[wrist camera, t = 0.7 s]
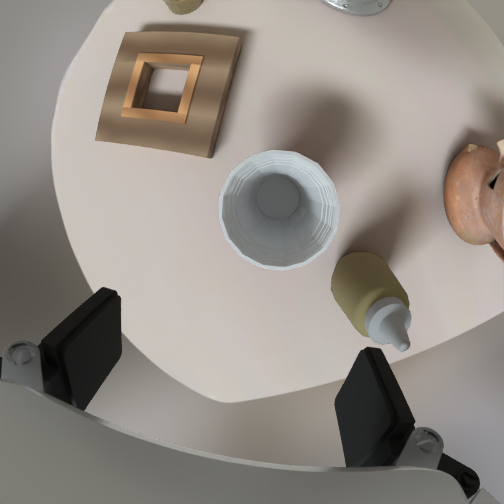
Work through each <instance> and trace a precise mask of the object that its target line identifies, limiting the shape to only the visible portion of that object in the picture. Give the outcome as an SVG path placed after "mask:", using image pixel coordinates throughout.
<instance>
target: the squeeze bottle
mask: <svg viewBox="0 0 504 504" xmlns="http://www.w3.org/2000/svg"><path fill="white" fill-rule="evenodd" d="M331 290H332V293H333V296H334V298H335V300H336V302H337V303H338V305H339V306H340V307H341V309H342V310H343V312H344V313H345V314H346V316H347V317H348V319H349V320H350V322H351V323H352V324H353V326H354V327H355V329H356V330H357V331H358V332H359V333H360V334H361V335H363V336H366V337H369V338H371V339H372V340H373V341H374V342H375V343H378V344H382V345H383V344H392V345H393V346H394V347H395V348H397V349H398V350H399V351H401V352H404V351H406V350H407V349H408V348H409V347H410V341H409V338H408V334H407V330H408V328H409V327H410V322H411V314H410V311H409V300H408V295H407V293H406V292H405V290H404V289H403V287H402V286H401V284H400V283H399V281H398V280H397V278H396V277H395V275H394V274H393V272H392V271H391V270H390V268H389V267H388V265H387V264H386V263H385V262H384V260H383V259H382V258H381V257H380V256H378V255H376V254H373V253H371V252H352V253H350V254H347V255H345V256H343V257H342V258H341V259H340V260H339V261H338V263H337V265H336V267H335V270H334V272H333V275H332V281H331Z"/></svg>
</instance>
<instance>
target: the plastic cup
mask: <svg viewBox="0 0 504 504" xmlns="http://www.w3.org/2000/svg"><path fill="white" fill-rule="evenodd" d="M339 213H340V203H339V200H338V196H337V193H336V189H335V186H334V183H333V181H332V180H331V179H330V178H329V176H328V175H327V174H326V173H325V171H324V170H323V169H322V168H321V167H320V165H319V164H318V163H316V162H314V161H312V160H311V159H309V158H307V157H305V156H303V155H301V154H299V153H297V152H293V151H282V150H269V151H265V152H262V153H259V154H256V155H253V156H250V157H248V158H246V159H245V160H244V161H243V162H242V163H241V164H240V165H238V166H237V167H236V168H235V169H234V170H233V171H232V172H230V174H229V176H228V178H227V180H226V182H225V184H224V186H223V188H222V190H221V192H220V194H219V211H218V219H219V222H220V225H221V227H222V230H223V233H224V236H225V239H226V241H227V242H228V243H229V244H230V245H231V246H232V248H233V249H234V250H235V251H236V252H237V253H238V255H239V256H240V257H241V258H243V259H245V260H247V261H249V262H251V263H253V264H255V265H256V266H258V267H260V268H265V269H273V270H282V271H285V270H289V269H293V268H297V267H300V266H304V265H307V264H308V263H310V262H311V261H312V260H314V259H315V258H316V257H318V256H319V255H320V254H322V253H323V252H324V251H325V250H326V249H327V247H328V245H329V244H330V242H331V240H332V238H333V237H334V235H335V233H336V232H337V229H338V221H339Z"/></svg>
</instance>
